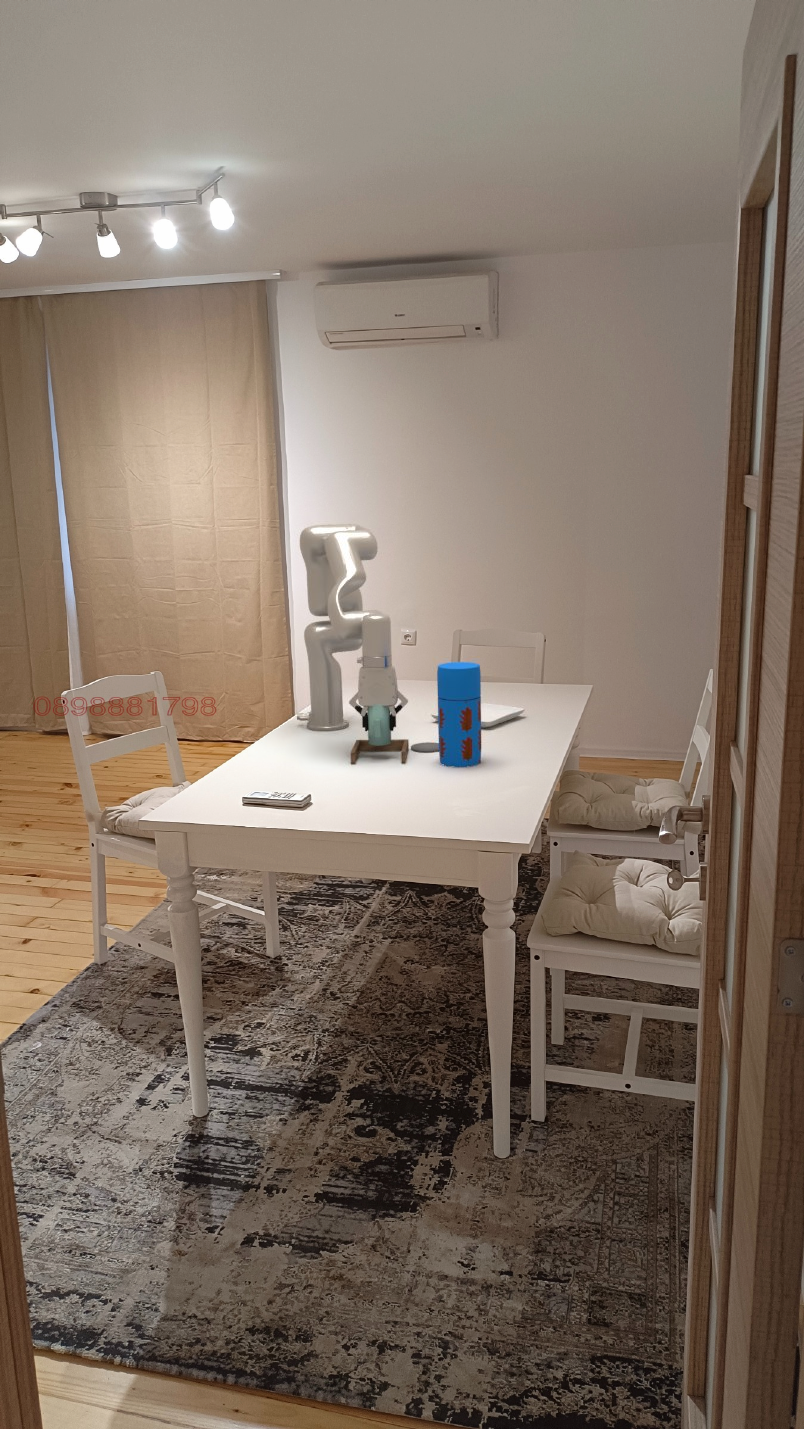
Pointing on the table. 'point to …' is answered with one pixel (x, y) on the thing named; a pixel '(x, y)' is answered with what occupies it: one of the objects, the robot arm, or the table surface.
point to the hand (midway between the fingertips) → (379, 729)
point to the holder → (380, 748)
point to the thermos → (459, 713)
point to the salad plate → (494, 714)
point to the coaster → (425, 747)
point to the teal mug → (379, 725)
